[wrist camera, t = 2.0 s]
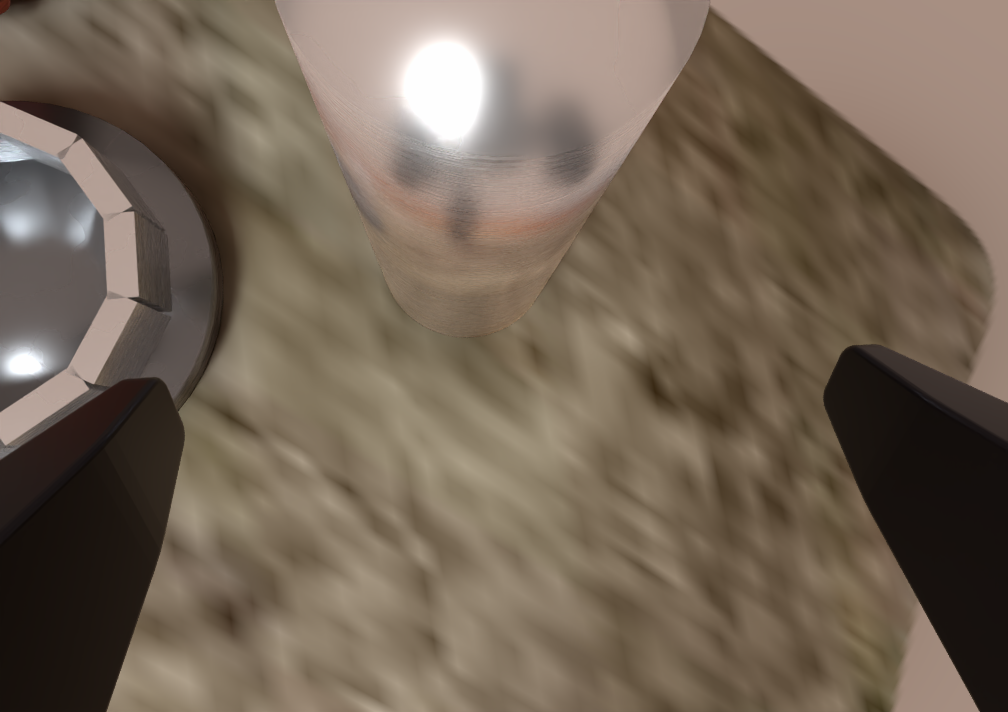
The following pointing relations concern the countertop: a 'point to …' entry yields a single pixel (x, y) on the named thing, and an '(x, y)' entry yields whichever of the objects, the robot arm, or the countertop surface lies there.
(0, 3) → the pomegranate
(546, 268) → the clear drinking glass
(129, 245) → the collar
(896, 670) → the countertop surface
